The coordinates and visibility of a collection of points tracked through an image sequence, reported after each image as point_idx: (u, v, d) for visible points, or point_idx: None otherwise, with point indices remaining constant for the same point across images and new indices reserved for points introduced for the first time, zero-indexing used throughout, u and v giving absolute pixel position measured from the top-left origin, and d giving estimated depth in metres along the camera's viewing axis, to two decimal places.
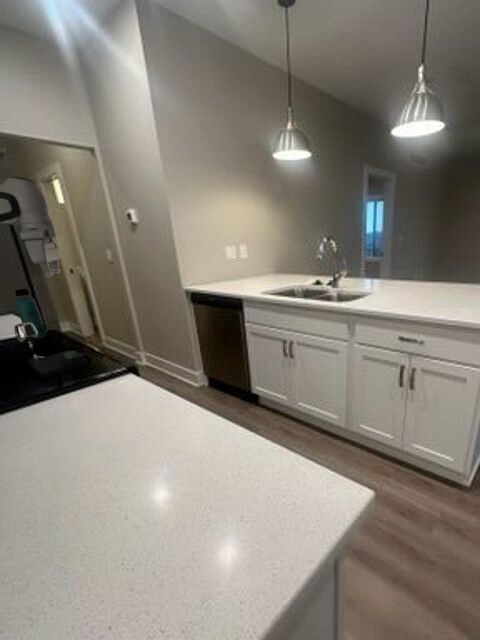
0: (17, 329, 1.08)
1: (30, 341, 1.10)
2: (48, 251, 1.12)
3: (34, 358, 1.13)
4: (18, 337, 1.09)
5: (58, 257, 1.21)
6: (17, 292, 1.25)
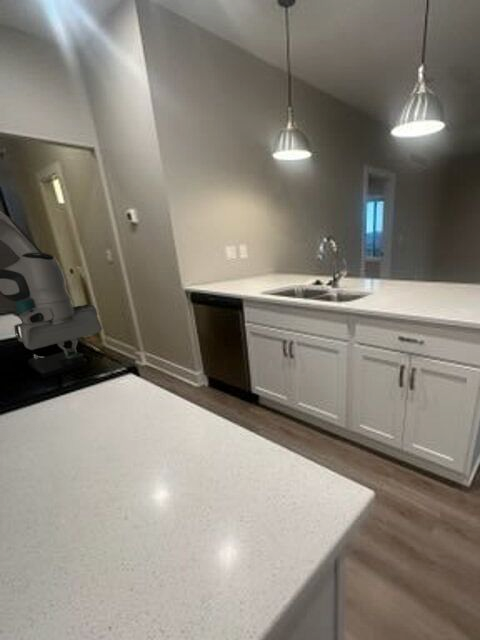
0: (17, 329, 1.08)
1: None
2: (49, 333, 0.99)
3: (34, 358, 1.13)
4: (18, 337, 1.09)
5: (86, 333, 1.06)
6: None
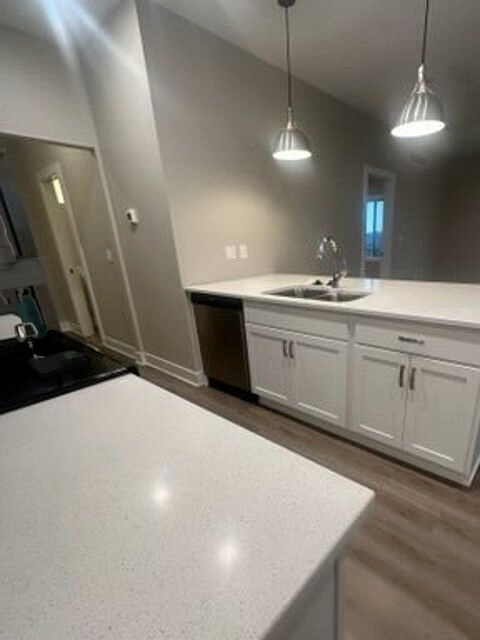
0: (17, 329, 1.08)
1: (30, 341, 1.10)
2: None
3: (34, 358, 1.13)
4: (18, 337, 1.09)
5: (30, 283, 1.08)
6: (17, 292, 1.25)
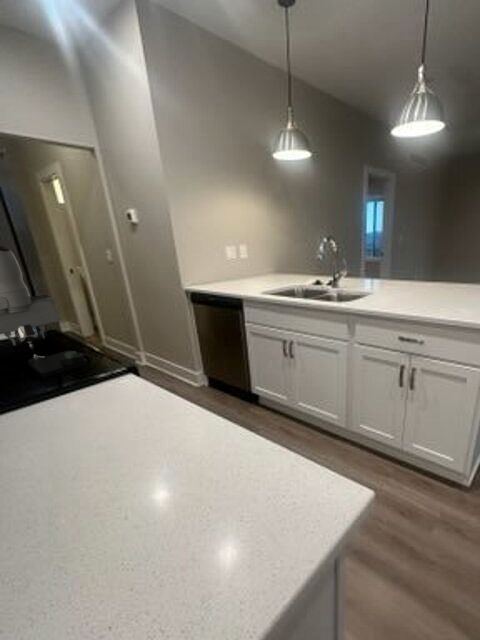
0: None
1: (30, 341, 1.10)
2: (6, 322, 1.05)
3: (34, 358, 1.13)
4: (18, 337, 1.09)
5: (44, 322, 1.12)
6: None
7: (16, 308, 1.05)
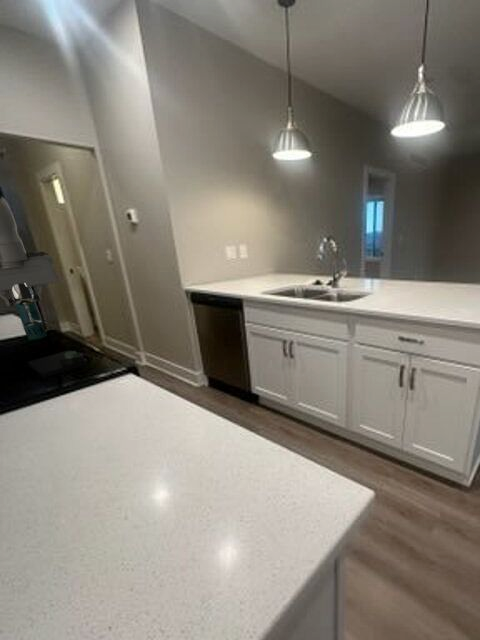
0: None
1: (25, 302, 1.00)
2: None
3: (30, 322, 1.03)
4: (12, 297, 0.98)
5: (41, 282, 1.02)
6: None
7: (10, 263, 0.95)
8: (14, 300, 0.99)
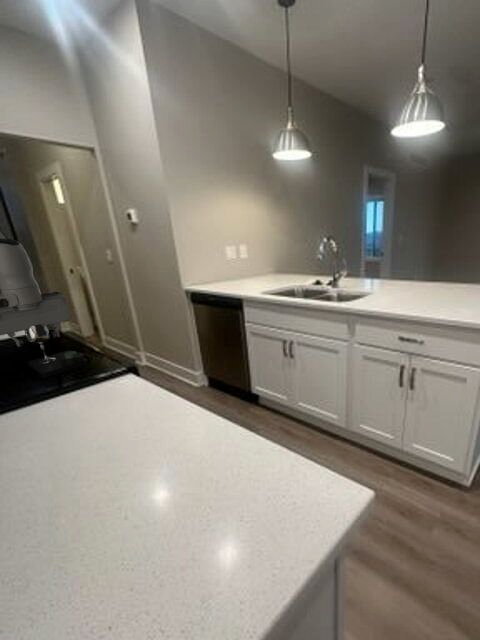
0: (28, 329, 1.02)
1: (41, 342, 1.04)
2: (15, 320, 0.99)
3: (45, 360, 1.07)
4: (29, 337, 1.03)
5: (55, 321, 1.06)
6: None
7: (26, 305, 0.99)
8: (31, 340, 1.03)
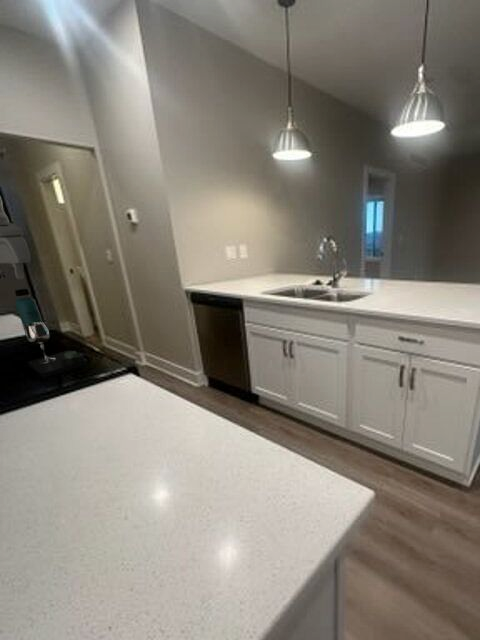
0: (28, 329, 1.02)
1: (41, 342, 1.04)
2: None
3: (45, 360, 1.07)
4: (29, 337, 1.03)
5: None
6: (17, 292, 1.25)
7: None
8: (31, 340, 1.03)
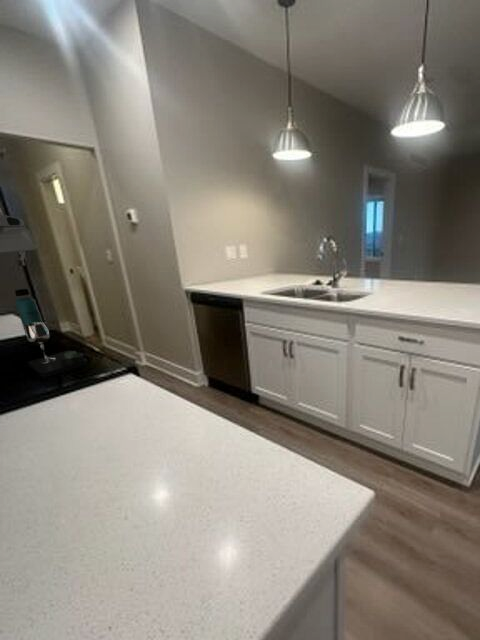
0: (28, 329, 1.02)
1: (41, 342, 1.04)
2: None
3: (45, 360, 1.07)
4: (29, 337, 1.03)
5: None
6: (17, 292, 1.25)
7: None
8: (31, 340, 1.03)
